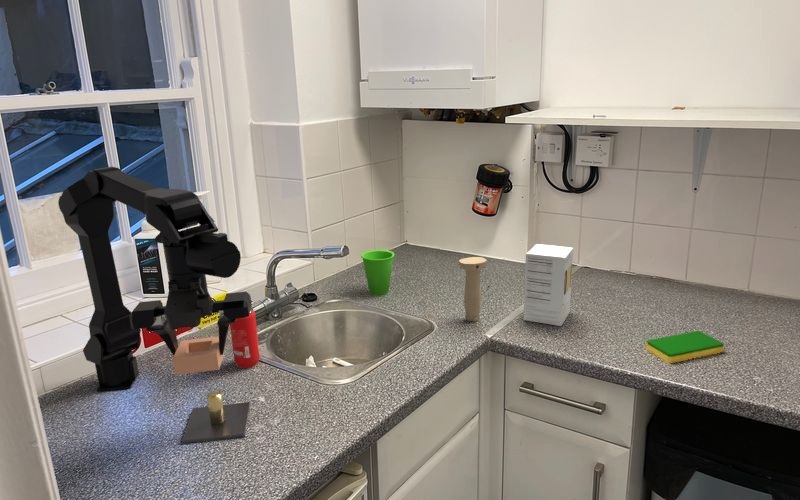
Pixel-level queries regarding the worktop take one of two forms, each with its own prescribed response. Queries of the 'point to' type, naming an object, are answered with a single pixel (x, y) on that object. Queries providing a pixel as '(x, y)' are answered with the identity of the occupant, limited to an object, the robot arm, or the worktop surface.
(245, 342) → the beverage can
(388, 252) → the cup
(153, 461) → the worktop surface
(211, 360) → the ring
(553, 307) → the supplement box
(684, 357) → the dish sponge
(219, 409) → the black plate with peg
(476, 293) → the handle
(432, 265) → the worktop surface
